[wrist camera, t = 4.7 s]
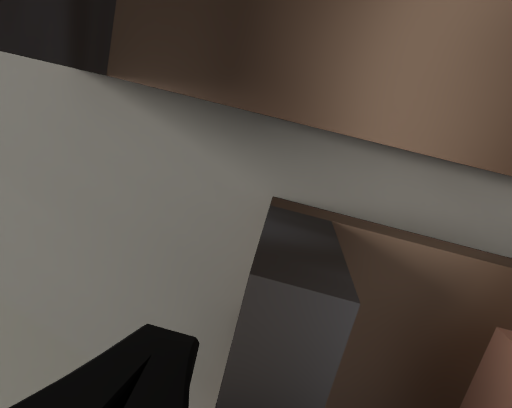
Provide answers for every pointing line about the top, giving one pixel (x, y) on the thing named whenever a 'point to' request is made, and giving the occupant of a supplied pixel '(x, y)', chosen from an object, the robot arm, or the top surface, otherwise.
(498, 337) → the terracotta block
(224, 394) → the cargo strip
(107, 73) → the dark grey boxy piece
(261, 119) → the top surface
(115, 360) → the robot arm
